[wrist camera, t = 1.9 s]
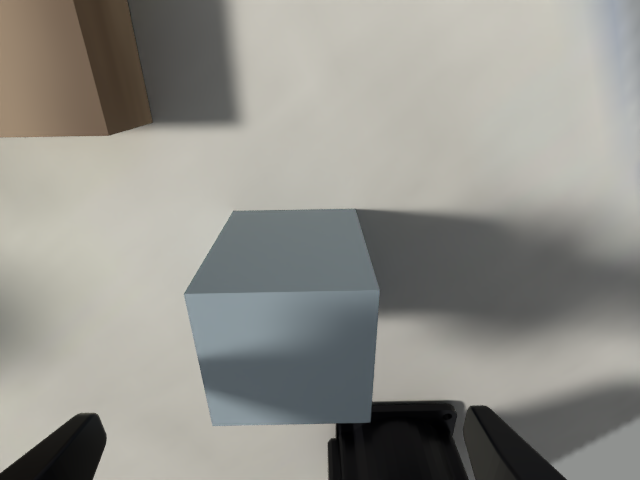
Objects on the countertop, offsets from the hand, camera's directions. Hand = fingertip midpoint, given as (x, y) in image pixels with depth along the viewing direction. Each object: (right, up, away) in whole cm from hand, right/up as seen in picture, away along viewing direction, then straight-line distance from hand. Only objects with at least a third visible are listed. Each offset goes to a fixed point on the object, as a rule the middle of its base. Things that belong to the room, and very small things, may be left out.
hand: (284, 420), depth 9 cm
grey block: (0, +3, +7) cm, 8 cm away
